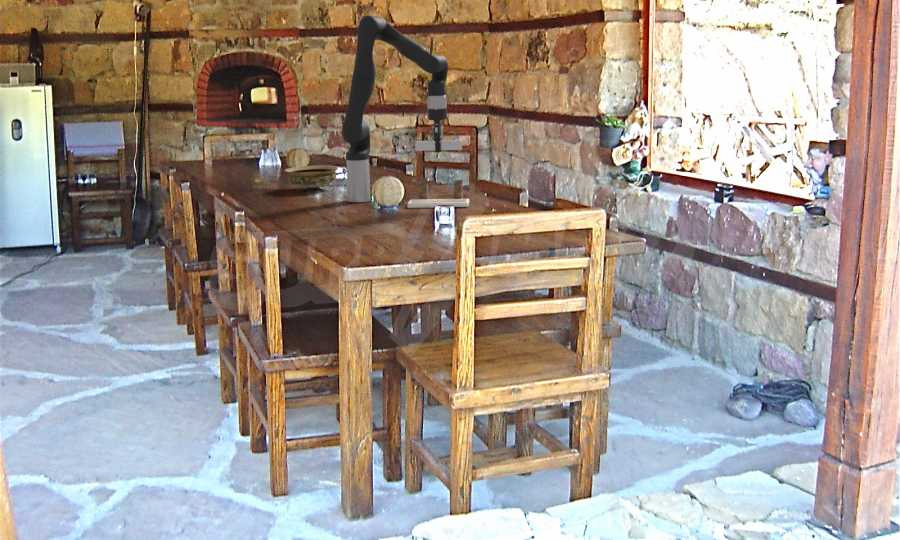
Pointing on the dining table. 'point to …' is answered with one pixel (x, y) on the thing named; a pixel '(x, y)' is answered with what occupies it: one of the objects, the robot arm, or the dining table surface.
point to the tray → (437, 203)
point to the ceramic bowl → (312, 176)
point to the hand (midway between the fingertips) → (438, 151)
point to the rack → (425, 189)
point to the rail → (444, 145)
